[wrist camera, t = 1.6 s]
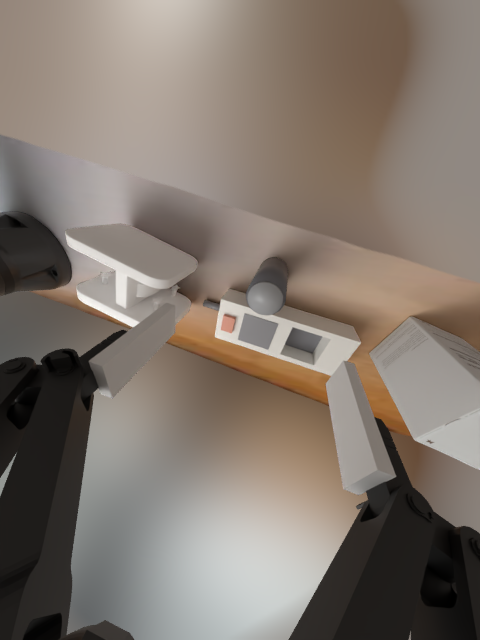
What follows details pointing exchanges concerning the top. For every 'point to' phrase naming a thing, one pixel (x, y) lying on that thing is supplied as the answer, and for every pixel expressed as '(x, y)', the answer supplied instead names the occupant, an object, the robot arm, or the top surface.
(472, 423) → the supplement box
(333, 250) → the top surface
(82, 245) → the cable organizer
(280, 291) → the plug
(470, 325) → the top surface
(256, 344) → the power strip
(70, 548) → the robot arm
